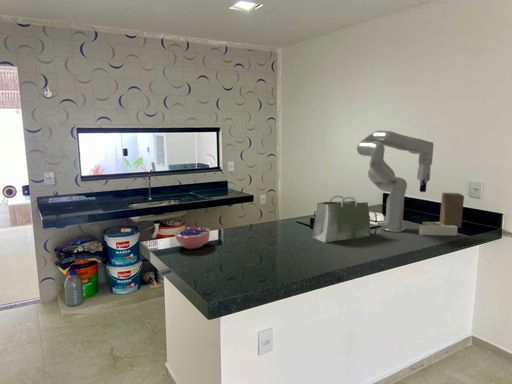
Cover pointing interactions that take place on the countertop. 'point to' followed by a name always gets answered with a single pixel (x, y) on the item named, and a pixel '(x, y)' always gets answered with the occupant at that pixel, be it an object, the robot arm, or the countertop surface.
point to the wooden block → (451, 209)
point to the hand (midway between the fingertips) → (422, 191)
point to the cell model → (192, 237)
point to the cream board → (438, 230)
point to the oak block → (432, 223)
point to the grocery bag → (341, 220)
